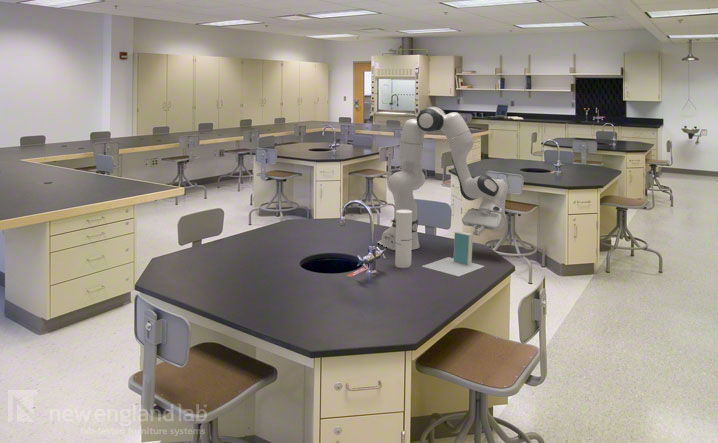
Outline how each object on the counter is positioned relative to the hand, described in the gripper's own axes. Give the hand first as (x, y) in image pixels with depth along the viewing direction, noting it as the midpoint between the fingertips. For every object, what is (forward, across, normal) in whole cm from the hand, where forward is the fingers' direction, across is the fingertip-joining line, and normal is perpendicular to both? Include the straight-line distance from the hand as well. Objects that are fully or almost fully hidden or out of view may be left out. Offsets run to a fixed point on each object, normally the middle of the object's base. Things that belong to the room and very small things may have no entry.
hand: (475, 234), depth 259 cm
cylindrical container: (+30, -18, -12) cm, 37 cm away
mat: (+20, 0, -3) cm, 21 cm away
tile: (+15, 0, +1) cm, 15 cm away
